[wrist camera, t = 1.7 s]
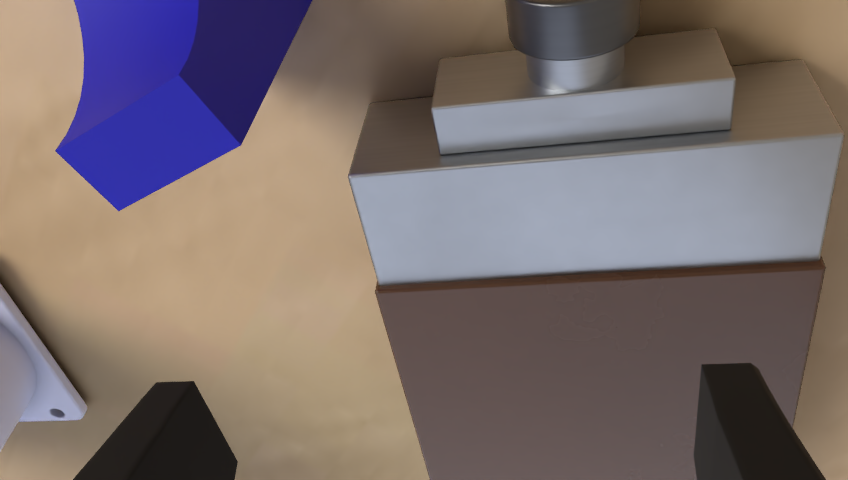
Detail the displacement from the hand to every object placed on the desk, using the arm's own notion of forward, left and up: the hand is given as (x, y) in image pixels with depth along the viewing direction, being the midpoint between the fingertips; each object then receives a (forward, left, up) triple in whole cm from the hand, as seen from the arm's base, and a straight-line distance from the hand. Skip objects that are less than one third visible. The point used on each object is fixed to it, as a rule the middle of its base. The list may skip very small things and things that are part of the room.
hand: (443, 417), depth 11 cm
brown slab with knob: (+2, -6, -10) cm, 12 cm away
